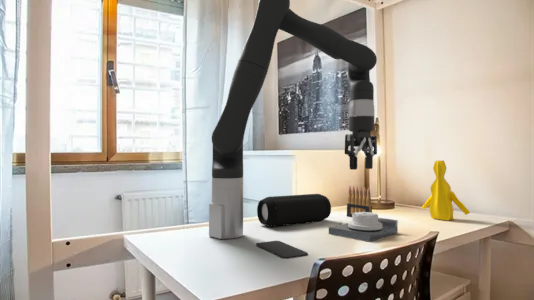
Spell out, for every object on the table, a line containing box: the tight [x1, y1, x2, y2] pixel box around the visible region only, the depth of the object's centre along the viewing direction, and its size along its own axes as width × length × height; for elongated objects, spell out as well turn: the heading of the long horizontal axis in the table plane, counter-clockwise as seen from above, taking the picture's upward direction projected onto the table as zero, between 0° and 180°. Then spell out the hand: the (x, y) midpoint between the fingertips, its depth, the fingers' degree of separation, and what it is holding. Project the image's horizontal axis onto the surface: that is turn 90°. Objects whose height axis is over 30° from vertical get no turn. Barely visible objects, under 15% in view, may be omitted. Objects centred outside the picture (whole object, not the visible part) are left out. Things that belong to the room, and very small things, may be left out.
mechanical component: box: [347, 212, 382, 230], centre depth 111 cm, size 10×4×10 cm
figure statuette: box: [421, 160, 471, 221], centre depth 137 cm, size 18×8×22 cm, turn 40°
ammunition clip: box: [346, 185, 373, 218], centre depth 140 cm, size 11×2×12 cm, turn 38°
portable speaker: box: [256, 193, 332, 228], centre depth 129 cm, size 26×10×10 cm, turn 118°
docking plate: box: [328, 217, 399, 243], centre depth 113 cm, size 16×14×4 cm
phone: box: [255, 240, 309, 260], centre depth 93 cm, size 7×1×15 cm
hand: (361, 169), depth 112 cm, fingers open, 8 cm apart
